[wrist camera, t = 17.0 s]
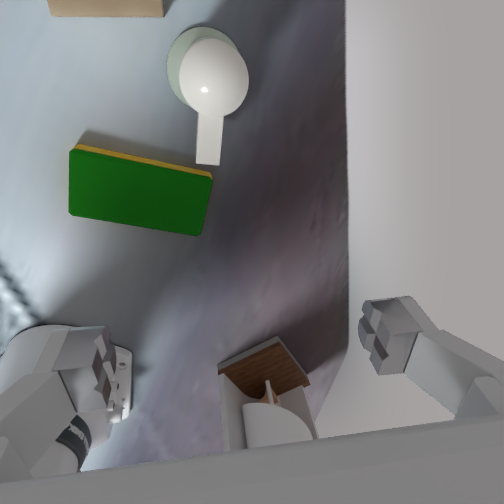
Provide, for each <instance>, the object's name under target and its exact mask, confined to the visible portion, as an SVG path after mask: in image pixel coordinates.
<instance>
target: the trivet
mask: <svg viewBox="0 0 504 504" xmlns="http://www.w3.org/2000/svg"><path fill="white" fill-rule="evenodd" d="M204 37H213V38H217V39H220V40H222V41H223V42H225V43H227V44H228V45H230V46H231V47H233V48H234V49H235V50H236V51H237V52H238V50H237V48H236V46H235V45H234V43H233V42H232V41H231V40H230V39H229V38H228V37H227V36H226V35H225V34H223V33H222V32H220V31H218V30H216V29H213V28H209V27H196V28H192V29H190V30H187V31H186V32H184V33H182V34H181V35H180V36H179V37H178V38H177V39H176V40H175V42H174V43H173V45H172V47H171V49H170V51H169V54H168V58H167V75H168V80H169V83H170V85H171V88H172V90H173V91H174V93H175V94H176V96H177V97H178V98H179V99H180V100H181V101H182V102H183V103H184V104H186V105H187V106H189V107H191V106H190V105H189V104H188V102H187V101H186V100H185V98H184V96H183V94H182V91H181V88H180V82H179V72H180V67H181V63H182V60H183V56H184V54H185V52H186V50H187V48H188V47H189V46H190V45H191V44H192V43H193V42H194V41H196V40H198V39H200V38H204ZM238 53H239V52H238ZM191 108H192V107H191Z"/></svg>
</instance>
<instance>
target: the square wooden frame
mask: <svg viewBox="0 0 504 504" xmlns="http://www.w3.org/2000/svg"><path fill="white" fill-rule="evenodd" d="M47 1H48V5H49V9H50V13H51V16H57V17H164V8H163V0H47Z"/></svg>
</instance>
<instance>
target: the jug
mask: <svg viewBox="0 0 504 504" xmlns="http://www.w3.org/2000/svg"><path fill="white" fill-rule="evenodd" d="M179 82H180V88H181V91H182V94H183V96H184V98H185V100H186V101H187V102H188V104H189V105H190V106H191V107H192V108H193V109H194V110H196V111H197V112H198V117H197V135H196V163H197V164H208V165H219V163H220V152H221V141H222V130H223V119H224V116H225V115H228V114H230V113H232V112H233V111H235V110H236V109H237V108H238V107H239V106H240V105H241V104H242V102H243V100H244V99H245V96H246V94H247V91H248V86H249V75H248V70H247V67H246V64H245V62H244V60H243V58H242V57H241V55H240V54H239V53H238V52H237V51H236V50H235V49H234V48H233V47H231V46H230V45H228V44H227V43H225V42H223V41H222V40H220V39H217V38H213V37H204V38H200V39H198V40H196V41H194V42H193V43H192V44H191V45H190V46H189V47H188V48H187V50H186V52H185V54H184V56H183V60H182V63H181V67H180V72H179Z"/></svg>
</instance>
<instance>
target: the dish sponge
mask: <svg viewBox="0 0 504 504" xmlns="http://www.w3.org/2000/svg"><path fill="white" fill-rule="evenodd" d="M212 182H213V181H212V175H211V174H210V172H207V171H203V170H198V169H193V168H189V167H184V166H180V165H175V164H170V163H166V162H161V161H156V160H152V159H147V158H142V157H138V156H133V155H129V154H124V153H119V152H115V151H110V150H105V149H101V148H96V147H91V146H87V145H82V144H78V145H76V146H75V147H74V148H73V149H72V150H71V151H70V152H69V213H70V214H71V215H73V216H79V217H85V218H91V219H97V220H103V221H109V222H115V223H121V224H127V225H133V226H139V227H145V228H151V229H157V230H163V231H169V232H175V233H181V234H187V235H193V236H198V235H200V234H201V230H202V226H203V222H204V217H205V213H206V209H207V204H208V200H209V196H210V191H211V187H212Z"/></svg>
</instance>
